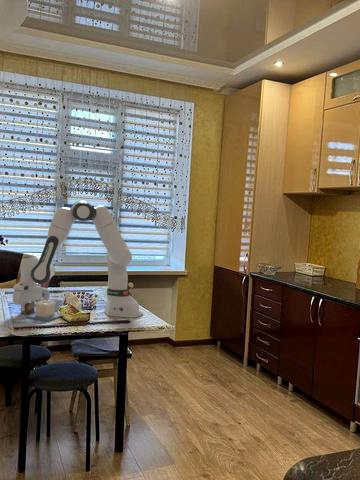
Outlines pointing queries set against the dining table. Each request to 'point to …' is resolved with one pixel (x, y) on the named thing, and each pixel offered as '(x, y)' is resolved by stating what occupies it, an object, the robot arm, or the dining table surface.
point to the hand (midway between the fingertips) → (27, 309)
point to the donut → (46, 295)
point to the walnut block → (28, 308)
